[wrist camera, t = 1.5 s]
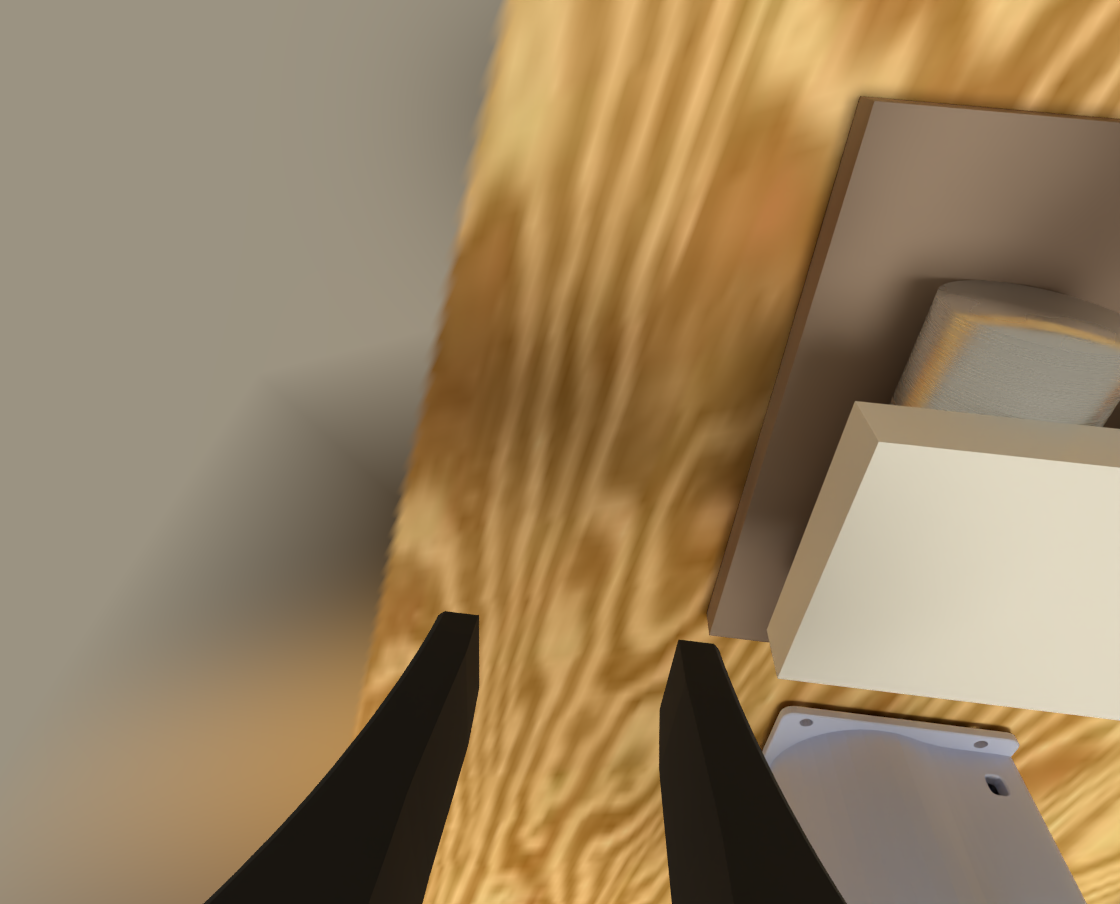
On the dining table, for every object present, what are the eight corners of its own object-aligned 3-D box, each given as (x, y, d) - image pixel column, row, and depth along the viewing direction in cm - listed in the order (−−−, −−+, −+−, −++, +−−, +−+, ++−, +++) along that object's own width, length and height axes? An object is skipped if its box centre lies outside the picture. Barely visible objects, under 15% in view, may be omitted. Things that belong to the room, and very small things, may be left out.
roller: (1078, 288, 15) (1209, 365, 12) (915, 584, 21) (972, 691, 17) (909, 273, 15) (991, 344, 12) (792, 572, 21) (826, 676, 17)
